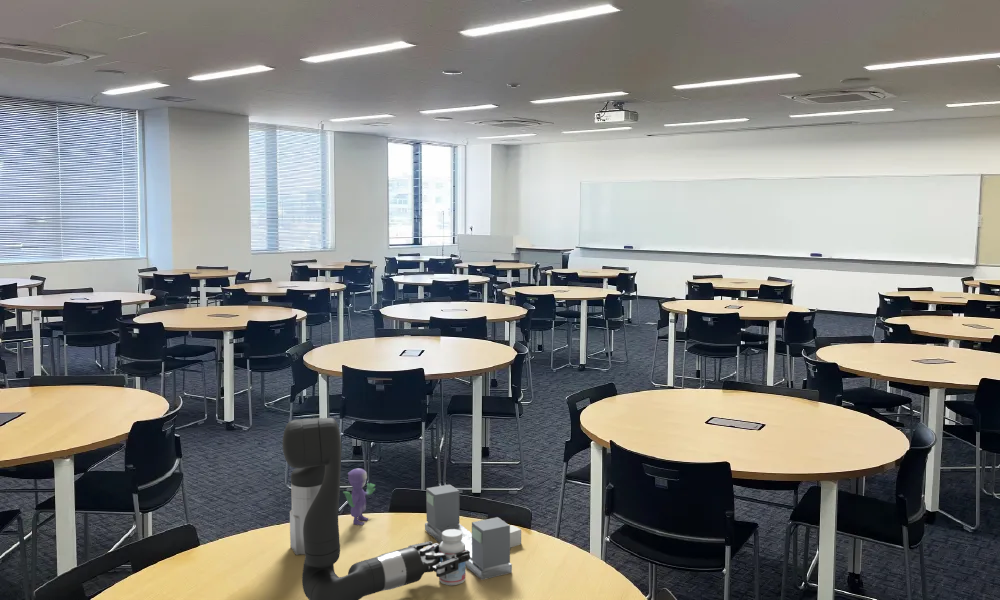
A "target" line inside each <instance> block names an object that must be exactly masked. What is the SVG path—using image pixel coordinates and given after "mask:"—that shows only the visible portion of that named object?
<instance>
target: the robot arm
mask: <svg viewBox="0 0 1000 600" xmlns="http://www.w3.org/2000/svg"><path fill="white" fill-rule="evenodd" d="M284 428H285V429H284V431H283V435H282V451H283V456H284V459H285V461H286V463H287V465H288V466H289V467H291V468H293V470H292V472H291V474H290V486H291V487H290V488H291V489H290V492H291V493H290V494H291V495H290V496H291V498H290V499H291V510H289V536H290V537H289V539H290V548H291V550H292V551H293V553H294V555H298V556H299V555H304V562H303V567H302V574H301V575H302V576H301V581H302V584H301V585H302V589H303V592H304V595H305V597H306V598H307V599H308V600H361V599H362V598H364V597H366V596H370V595H373V594H376V593H380V592H383V591H384V592H385V591H391V590H394V589H397V588H400V587H403V586H407V585H410V584H413V583H417V582H419V581H420V580H421V579H422V577H423V575H424V574H426V573H432V572H434V573H435V574H436V577H437V578H439V577H441V576H444V575H446V574H449V573H451V572H454V571H456V570H458V564H459V563H462V562H465V561H468V560H469V559H470V552H469V551H468V550H466V551H462V552H459V553H455V554H448V555H446V554H445V553H439V545H440V543H439V542H435V543H433V541H430V540H429V541H425V542H424V541H423V542H420V543H416V544H410V545H407V547H404V548H400V549H395V550H393V551H389V552H385V553H382V554H381V555H378V556H375V557H372V558H368V559H364V560H361V561H358V562H356V563H354V564H352V565H351V566H350V567H349V569H348V571H347V574H346V575H344V576H340V577H339V576H338V575H337V574H336V573H335V567H334V564H335V563H336V562H337V561H338V560H339V559H340V556H341V548H340V547H341V544H340V542H341V541H340V530H339V503H340V491H341V490H340V489H341V469H342V468H341V465H342V463H341V462H342V441H341V439H342V437H341V432H340V428H339V425H338V422H337V420H336V419H335V418H334V417H333V418H332V417H324V418H323V417H317V418H315V417H314V418H303V419H301V418H300V419H292V420H290V421H289V422H288V423H287V424H286V426H285V427H284ZM440 557H442V563H441V562H440ZM446 559H450V560H447V561H446Z"/></svg>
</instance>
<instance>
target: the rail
mask: <svg viewBox="0 0 1000 600" xmlns="http://www.w3.org/2000/svg"><path fill="white" fill-rule="evenodd" d="M449 529H457V530H460V531H461V532H462V541H463V542H464V544H465V551H466V550H468V551H469V552H470V559H469V560H468V561H465V564H466V568H467V569H469V571H471V572H472V573H473V574H475V576H476V577H477V578H479V579H480V580H486V579H491V578H495V577H499V576H503V575H508V574H512V573H513V571H512V570H513V564H512V563H511V562H510V563H507V564H502V565H498V566H494V567H490V568H485V569H483V568H482V567H481V566H479V565H478V564H477V563H476V562H475V561H473V560H472V531H470V530H469V529H467V528H466V527H465V526H463V524H461V523H459V524H455V525H450V526H445V527H440V528H434V527H433V526H432V525H431V524H430V523H429V522H424V531H425V530H426V531H427V532H426V531H425V532H426V533H427V534H428V535H430V536H431V537H432V536H433V537H434V538H435V539H434V538H433V537H432V538H433V539H434V540H435V541H437V543H438V544H440V543H441V542H442V541H443V540H442V532H443V531H445V530H449Z"/></svg>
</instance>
